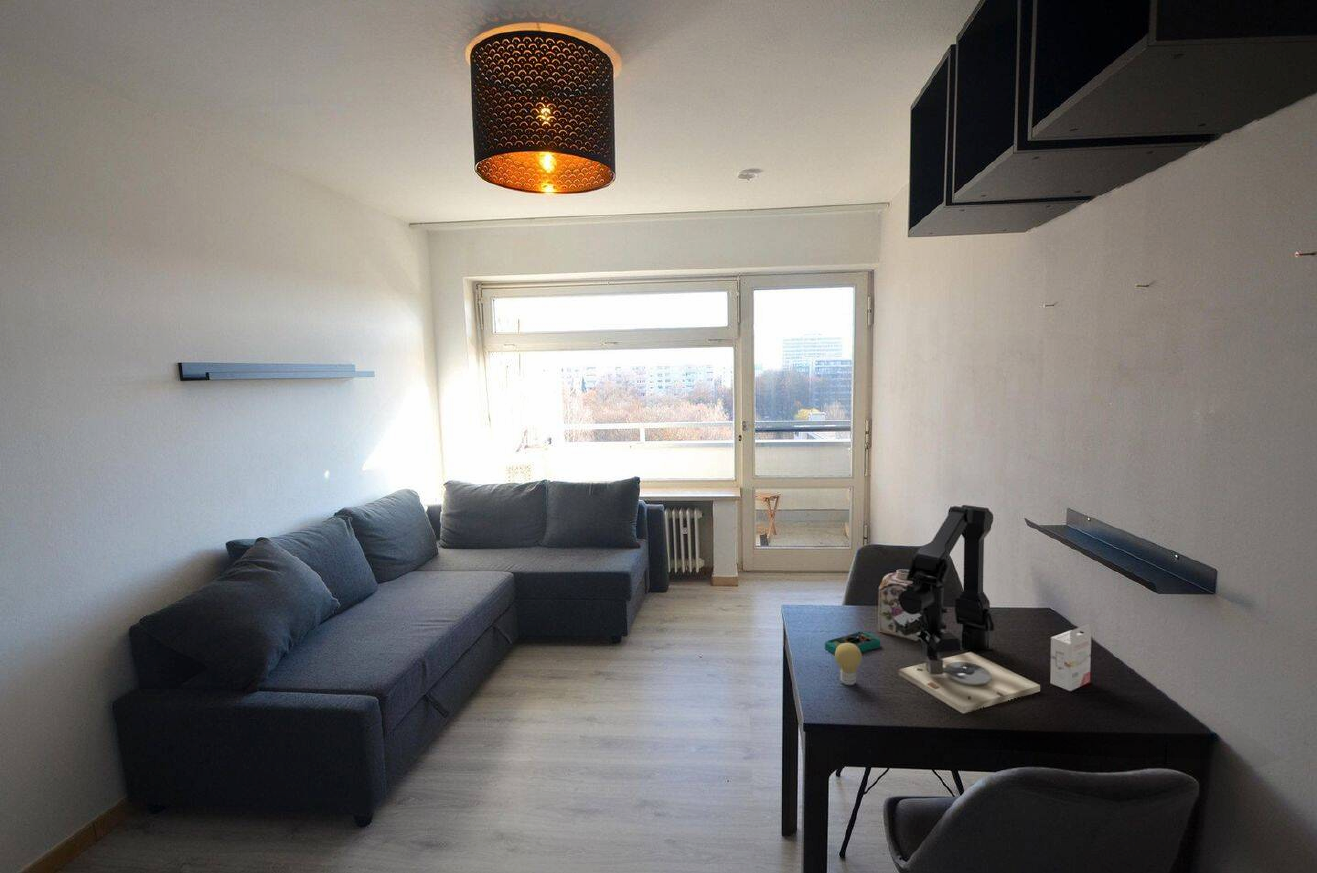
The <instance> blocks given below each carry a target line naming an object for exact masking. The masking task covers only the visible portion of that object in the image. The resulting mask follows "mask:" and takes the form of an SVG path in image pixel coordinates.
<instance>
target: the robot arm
mask: <svg viewBox="0 0 1317 873" xmlns="http://www.w3.org/2000/svg"><path fill="white" fill-rule="evenodd" d="M993 523H994V514H993V512H992V511H990V509H989V508H988V507H985V506H983V507H982V506H975V505H969V504H968V505H967V504H962V505H961V506H959V505H958V506H956V505H955V506H954V505H953V506H950V507H949V509H948V513H947V516H946V518H945V519H944V521H943V523H942V524H941V525H940V527H939V529H938V531H937V532H936V534H935V535H934V537H933V539H932V540H931V541H930V542H928V543H926V544H923V545H922V546H920V548H919V549H918V551H917V552H916V553H915V554H914V555H913V557H912V560H911V564H910V567H909V569H908V570H909V572H908V576H907V580H909V581H913V583H912V584H908V585H907V590H905V591H903V592H902V593H901V594H900V596H899V604H900V606H901V608H902V609H903V610H904V611H903V612H902V614H900V615H897V616H895V617H894V620H895V623H896V626H897V629H898V630H899V631H900V632H901V633H902V634H903V635H905V636H907V635H910V634H916V635H917V636H918V637H919V638H920V639H919V640H920V642H921V645H922V648H923V653H924V656H925V657H926V655H937V654H938V653H947V652H948V653H949V652H956V651H957V652H960V651H962V648H964V649H966V650H969V652H972V653H974V654H979V653H984V652H988V651H992V650H994V646H992V645H990V644H989V642H990V641H989V640H990V636H989V635H990V632H994V631H995V630H996V626H997V619H996V616H995V615H994V613H993V612H992V610H991V605H990V604H991V602H990V599H989V598H988V597H987V595H986V593H985V592H984V563H985V562H984V561H985V560H984V555H985V553H984V552H985V538H986V537H987V535H989V533H990V532H991V530H992V525H993ZM961 536H962V538H963V586H962V587H963V591H962V592H961V593H960V594H959V596H958V597H956V599H955V606H954V615H955V620H956V624H958V625H962V631H961V639H959V638H958V637H957V636H955V635H954V634H953V633H952V632H949V631H948V632H945V631H944V630H946V629H947V624H945V623H944V614H947V613H948V609H947V608H946V607H945V606H944V593H945V592H944V590H945V588H944V584H945V583H946V582H947V580H948V578H947V576H948V574H949V571H950V569H951V568H950V567H951V558H950V555H951V552H952V551H953V549H954V548H955V546H956V544H957V542H958V541H959V540H960V537H961Z"/></svg>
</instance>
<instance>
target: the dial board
mask: <svg viewBox="0 0 1317 873" xmlns="http://www.w3.org/2000/svg"><path fill="white" fill-rule="evenodd" d="M941 659H942V660H943V668H945V666H946V665H947V664H949V663H953V662H967V663H972V664H976V665H979V666H981V667H983V668H985V669H987V670H988V671H989V672H990V675H991V678H990V682H989V683H988V684H986V685H982V686H970V685H964V684H960V683H957V682H955V681H953V680H951V679H949V678H948V677H947V676H946V674H945V673H943V674H929V672H928V671H927V670H926V662H924V663H920V664H915V665H912V666H908V667H904V668H900V669H898V675H899V677H901V678H903V679H905V680H906V681H908V682H910V683H911V684H913V685H915V686H917V687H918V688H920V689H921V690H923V691H925V692H926V693H928V694H930V695H931V696H933V697H934V698H936V699H938V700H940V701H942V702H943V703H944V704H946V705H947V706H949V707H951V708H953V709H955V710H956V711H958V712H960V713H961V714H962V715H963V714H966V713H970V712H974V711H977V710H980V708H981V709H984V708H987V707H990V706H994V705H998V704H1001V703H1005V702H1008V700H1009V701H1011V699H1012V700H1015V699H1014V698H1016V699H1018V698H1017V697H1019V698H1022V697H1026V696H1030V695H1033V694H1035V693H1038V692H1041V684H1039V683H1036V682H1035V681H1032V680H1030V679H1028V678H1025V677H1024V676H1021V675H1020V674H1018V673H1015V672H1013V671H1011V670H1009V669H1007V668H1006V667H1004V666H1001V665H999V664H997V663H996V662H993V661H991V660H989V659H987V658H984V657H982V656H980V655H979V654H977V653H974V652H972V651H969V652H965V653H961V654H957V655H953V656H949V657H948V656H947V657H944V658H941ZM1021 696H1022V697H1021ZM983 707H984V708H983ZM973 710H974V711H973Z"/></svg>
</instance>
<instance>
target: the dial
mask: <svg viewBox="0 0 1317 873" xmlns="http://www.w3.org/2000/svg"><path fill="white" fill-rule="evenodd" d="M942 659H943V658H942V657H940V655H939V654H936V655H926V656H925V663H926V670H927V671H928V672H929V674H943V673H945V674H946V676H947V677H948V678H949V679H951V680H953V681H955V682H957V683H960V684H964V685H970V686H982V685H986V684H988V683H989V682H990V678H991V675H990V672H989V671H988V670H987V669H985V668H983V667H981V666H979V665H976V664H972V663H967V662H953V663H949V664H947V665H946V666H945V668H943V660H942Z"/></svg>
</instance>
